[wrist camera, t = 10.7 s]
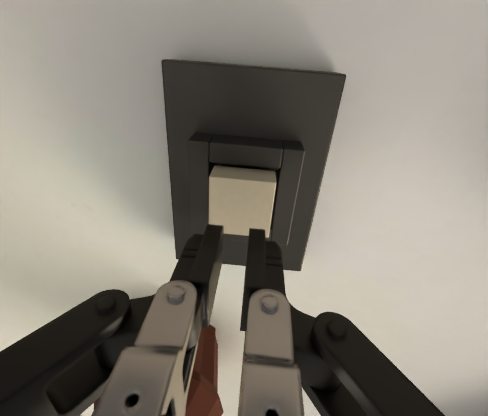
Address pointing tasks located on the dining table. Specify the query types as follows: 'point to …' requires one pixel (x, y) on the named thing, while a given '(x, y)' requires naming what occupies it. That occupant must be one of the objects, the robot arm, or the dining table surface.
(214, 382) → the muffin
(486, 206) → the dining table surface
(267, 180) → the key
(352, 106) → the dining table surface
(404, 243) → the dining table surface
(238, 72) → the tiered pedestal stack
